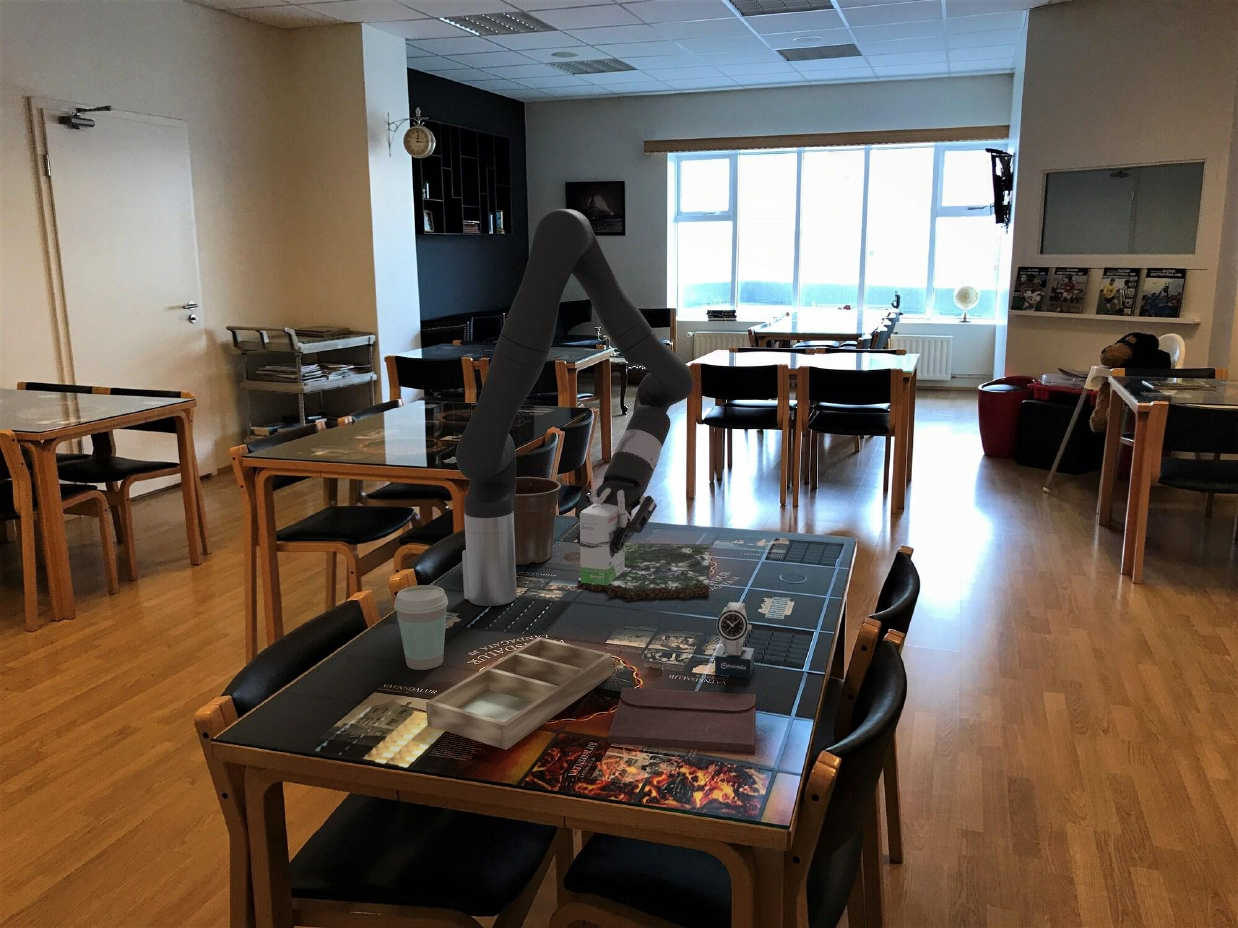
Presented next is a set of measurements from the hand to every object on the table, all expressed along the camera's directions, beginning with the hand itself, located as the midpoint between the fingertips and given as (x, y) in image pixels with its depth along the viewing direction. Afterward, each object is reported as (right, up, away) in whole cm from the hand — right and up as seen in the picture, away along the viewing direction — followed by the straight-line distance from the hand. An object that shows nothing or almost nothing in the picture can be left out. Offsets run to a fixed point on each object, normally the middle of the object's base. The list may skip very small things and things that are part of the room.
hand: (597, 547), depth 159 cm
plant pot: (-17, -7, +54) cm, 57 cm away
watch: (+22, -19, -5) cm, 29 cm away
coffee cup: (-28, -19, 0) cm, 34 cm away
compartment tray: (-11, -21, -14) cm, 27 cm away
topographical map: (+9, -9, +43) cm, 45 cm away
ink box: (+1, -5, +3) cm, 6 cm away
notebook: (+13, -24, -21) cm, 34 cm away
